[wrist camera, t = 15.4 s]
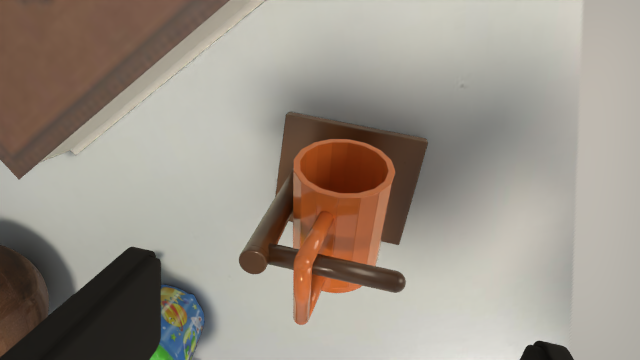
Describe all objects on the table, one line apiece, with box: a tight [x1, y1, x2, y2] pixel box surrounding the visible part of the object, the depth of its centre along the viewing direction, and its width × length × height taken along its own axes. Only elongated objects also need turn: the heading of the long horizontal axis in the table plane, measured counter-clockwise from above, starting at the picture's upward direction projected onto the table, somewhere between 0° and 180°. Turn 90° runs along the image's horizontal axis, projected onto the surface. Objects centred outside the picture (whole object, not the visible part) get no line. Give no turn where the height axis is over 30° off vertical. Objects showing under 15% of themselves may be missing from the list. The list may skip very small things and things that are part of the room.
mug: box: [293, 139, 395, 325], centre depth 26 cm, size 11×6×9 cm
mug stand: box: [239, 112, 428, 293], centre depth 28 cm, size 12×10×15 cm
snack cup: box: [150, 285, 205, 360], centre depth 39 cm, size 16×10×10 cm
